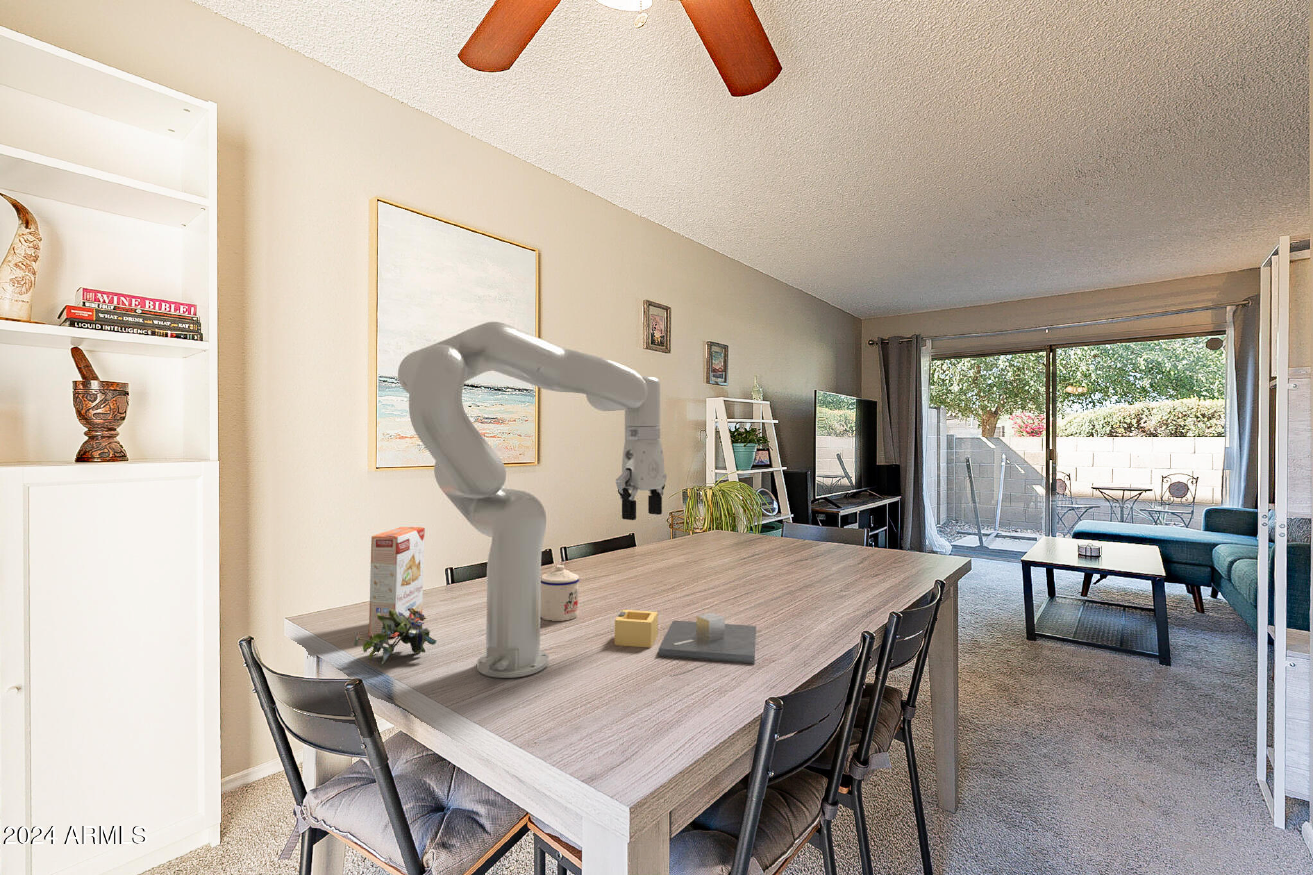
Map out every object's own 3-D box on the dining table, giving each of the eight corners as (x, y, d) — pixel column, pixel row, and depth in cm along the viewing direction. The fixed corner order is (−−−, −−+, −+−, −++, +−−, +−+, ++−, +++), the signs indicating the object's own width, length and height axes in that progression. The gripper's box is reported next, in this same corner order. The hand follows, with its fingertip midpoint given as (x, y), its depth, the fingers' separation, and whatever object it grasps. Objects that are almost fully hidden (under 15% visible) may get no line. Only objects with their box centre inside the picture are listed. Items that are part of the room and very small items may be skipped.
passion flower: (414, 682, 114) (451, 632, 113) (371, 694, 104) (411, 639, 103) (381, 641, 118) (416, 593, 118) (336, 648, 108) (374, 596, 107)
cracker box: (396, 638, 122) (398, 536, 122) (367, 638, 122) (368, 535, 122) (424, 618, 136) (425, 526, 136) (398, 617, 136) (399, 525, 136)
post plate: (754, 663, 111) (754, 633, 111) (658, 656, 114) (659, 627, 114) (755, 632, 129) (756, 607, 129) (672, 627, 132) (673, 602, 132)
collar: (650, 647, 119) (651, 620, 119) (614, 644, 120) (614, 618, 120) (657, 635, 126) (657, 610, 126) (623, 633, 127) (623, 608, 127)
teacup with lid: (571, 623, 134) (571, 571, 134) (532, 620, 136) (533, 568, 136) (588, 608, 146) (588, 560, 146) (552, 606, 147) (553, 558, 147)
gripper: (633, 435, 117) (633, 523, 117) (678, 435, 132) (678, 513, 132) (603, 435, 121) (603, 520, 121) (650, 435, 136) (650, 511, 136)
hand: (642, 516), depth 127 cm, fingers open, 9 cm apart
